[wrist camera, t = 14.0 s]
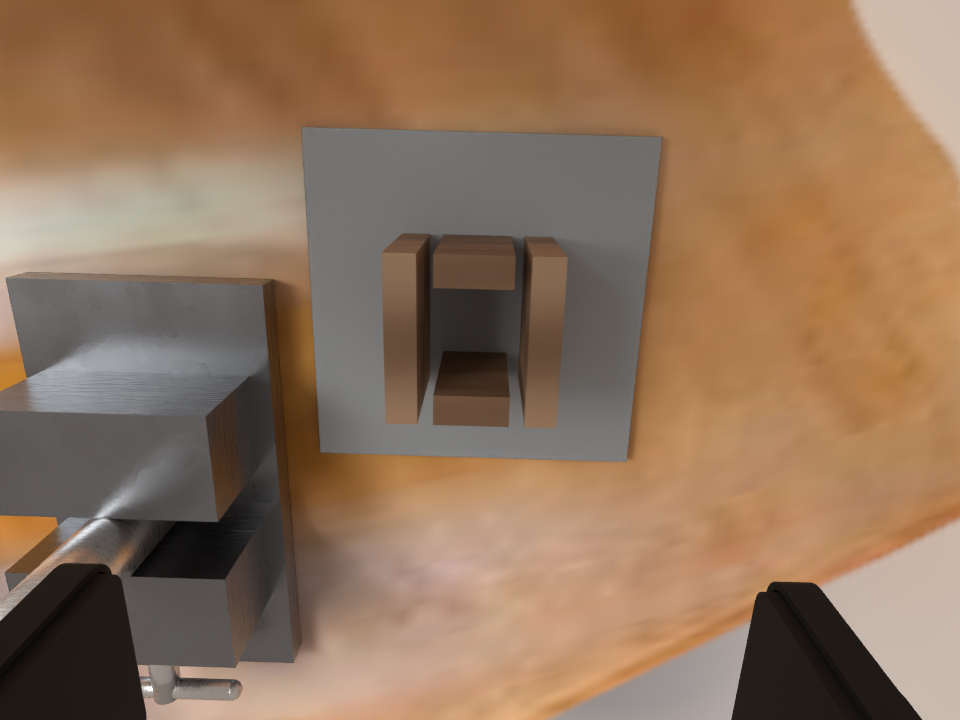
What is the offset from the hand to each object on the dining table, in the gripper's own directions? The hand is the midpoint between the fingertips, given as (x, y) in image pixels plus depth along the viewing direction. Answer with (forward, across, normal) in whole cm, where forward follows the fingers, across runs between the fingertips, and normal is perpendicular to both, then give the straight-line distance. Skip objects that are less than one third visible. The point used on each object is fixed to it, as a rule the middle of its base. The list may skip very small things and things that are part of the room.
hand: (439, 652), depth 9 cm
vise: (+23, +16, +10) cm, 30 cm away
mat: (+23, 0, 0) cm, 23 cm away
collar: (+22, 0, 0) cm, 22 cm away
